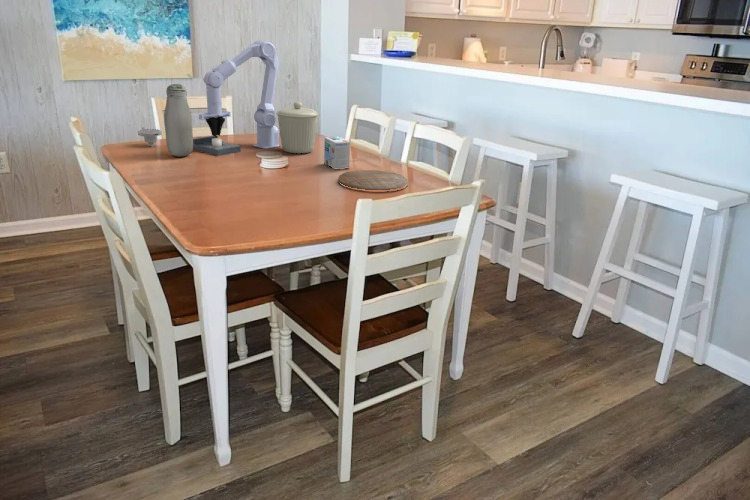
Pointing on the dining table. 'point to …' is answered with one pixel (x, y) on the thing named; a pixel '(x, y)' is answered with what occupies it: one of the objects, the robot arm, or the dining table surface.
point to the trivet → (372, 180)
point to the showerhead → (150, 135)
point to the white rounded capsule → (216, 142)
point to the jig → (206, 146)
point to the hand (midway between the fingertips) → (216, 135)
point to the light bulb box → (337, 152)
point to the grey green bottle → (178, 121)
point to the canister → (297, 128)
